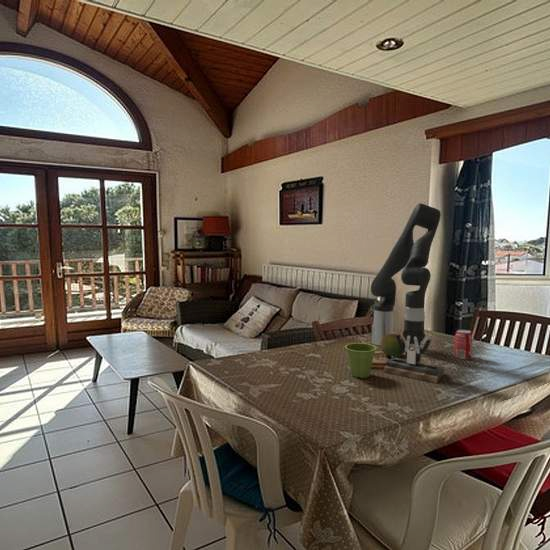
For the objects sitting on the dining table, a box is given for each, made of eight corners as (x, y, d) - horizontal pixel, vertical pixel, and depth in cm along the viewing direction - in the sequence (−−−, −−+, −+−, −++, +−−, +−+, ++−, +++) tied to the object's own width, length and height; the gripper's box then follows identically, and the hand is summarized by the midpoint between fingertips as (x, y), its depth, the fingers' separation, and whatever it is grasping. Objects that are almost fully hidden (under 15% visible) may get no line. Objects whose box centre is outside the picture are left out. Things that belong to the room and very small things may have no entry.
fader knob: (406, 367, 155) (407, 349, 154) (410, 364, 159) (411, 347, 158) (414, 369, 153) (415, 351, 152) (418, 366, 157) (419, 348, 156)
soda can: (467, 355, 179) (469, 329, 177) (474, 360, 172) (475, 333, 170) (451, 355, 179) (452, 329, 178) (457, 359, 172) (458, 332, 171)
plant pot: (355, 368, 162) (356, 341, 161) (381, 375, 153) (382, 346, 152) (338, 375, 153) (339, 346, 152) (364, 383, 145) (365, 353, 144)
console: (383, 372, 157) (383, 362, 156) (394, 364, 166) (394, 355, 166) (435, 383, 145) (436, 373, 144) (444, 374, 154) (445, 364, 154)
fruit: (396, 351, 185) (397, 330, 184) (413, 359, 173) (414, 337, 172) (374, 354, 181) (375, 332, 180) (390, 362, 169) (391, 339, 168)
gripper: (393, 317, 155) (391, 360, 157) (430, 322, 147) (428, 367, 148) (399, 314, 161) (398, 355, 163) (435, 319, 153) (434, 362, 154)
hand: (412, 361), depth 156 cm, fingers closed on fader knob, 3 cm apart
